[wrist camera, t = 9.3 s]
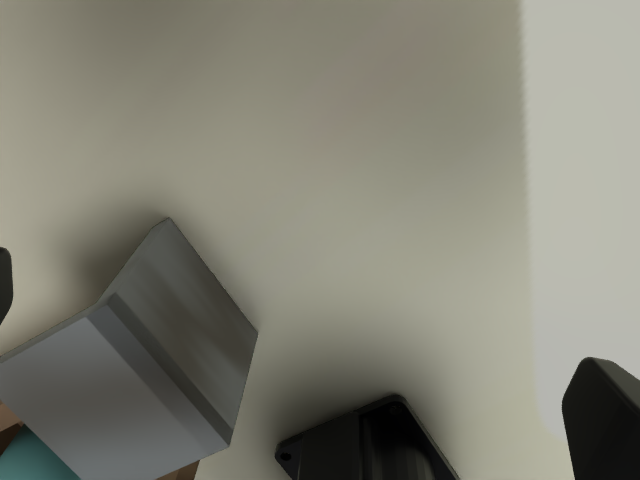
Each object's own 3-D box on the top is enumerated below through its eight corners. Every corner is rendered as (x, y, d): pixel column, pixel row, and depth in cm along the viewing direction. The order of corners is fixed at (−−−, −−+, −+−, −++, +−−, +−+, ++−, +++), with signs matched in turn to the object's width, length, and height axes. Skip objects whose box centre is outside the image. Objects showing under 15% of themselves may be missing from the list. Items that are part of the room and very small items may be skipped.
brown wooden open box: (299, 388, 25) (283, 510, 20) (86, 484, 28) (20, 613, 23) (169, 217, 22) (106, 305, 16) (-54, 347, 25) (-170, 457, 20)
